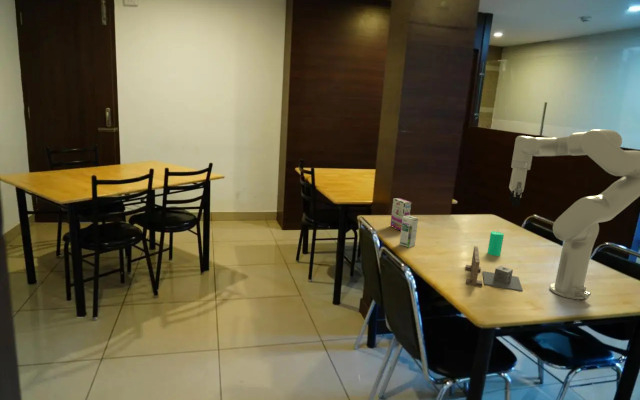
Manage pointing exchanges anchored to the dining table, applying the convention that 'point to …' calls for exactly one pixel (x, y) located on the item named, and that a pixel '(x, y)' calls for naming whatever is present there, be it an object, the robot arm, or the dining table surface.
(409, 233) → the syrup box
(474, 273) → the walnut screen
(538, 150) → the robot arm
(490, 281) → the grey mat
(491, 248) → the candle
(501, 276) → the dice cube
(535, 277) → the dining table surface
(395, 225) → the candy bar box
